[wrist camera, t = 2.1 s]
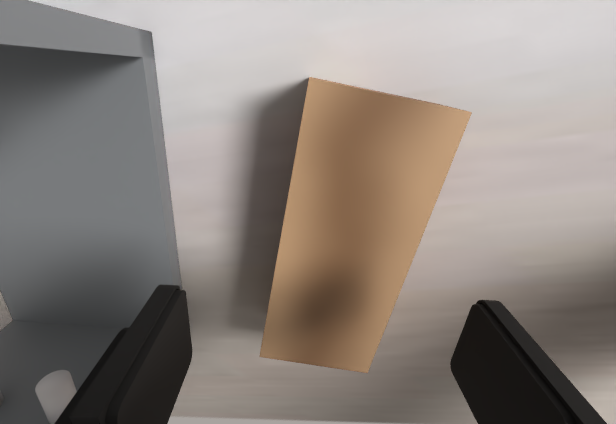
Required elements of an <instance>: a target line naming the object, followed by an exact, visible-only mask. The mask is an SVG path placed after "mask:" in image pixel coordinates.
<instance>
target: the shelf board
mask: <svg viewBox="0 0 616 424" xmlns="http://www.w3.org/2000/svg"><path fill="white" fill-rule="evenodd" d="M471 113H472V112H468V111H464V110H460V109H456V108H452V107H448V106H444V105H440V104H435V103H431V102H426V101H421V100H416V99H412V98H407V97H402V96H397V95H393V94H388V93H383V92H379V91H374V90H369V89H364V88H360V87H355V86H350V85H345V84H341V83H336V82H331V81H327V80H322V79H317V78H312V77H310V78H309V81H308V87H307V92H306V98H305V104H304V109H303V115H302V120H301V126H300V132H299V137H298V143H297V148H296V154H295V160H294V165H293V171H292V177H291V182H290V188H289V193H288V199H287V205H286V210H285V216H284V222H283V227H282V233H281V238H280V244H279V250H278V255H277V261H276V267H275V272H274V278H273V283H272V289H271V295H270V300H269V306H268V312H267V317H266V323H265V328H264V334H263V340H262V345H261V351H260V357H264V358H271V359H277V360H284V361H291V362H297V363H304V364H311V365H317V366H324V367H330V368H337V369H344V370H350V371H357V372H364V373H368V370H369V368H370V365H371V363H372V360H373V358H374V355H375V353H376V350H377V348H378V345H379V343H380V340H381V338H382V335H383V333H384V330H385V328H386V325H387V323H388V320H389V318H390V315H391V313H392V310H393V308H394V305H395V303H396V300H397V298H398V295H399V293H400V290H401V288H402V285H403V283H404V280H405V278H406V275H407V273H408V270H409V268H410V265H411V263H412V260H413V258H414V255H415V253H416V251H417V248H418V246H419V243H420V241H421V238H422V236H423V233H424V231H425V228H426V226H427V223H428V221H429V218H430V216H431V213H432V211H433V208H434V206H435V203H436V201H437V198H438V196H439V193H440V191H441V188H442V186H443V183H444V181H445V178H446V176H447V173H448V171H449V168H450V166H451V163H452V161H453V158H454V156H455V153H456V151H457V148H458V146H459V143H460V141H461V138H462V136H463V133H464V131H465V128H466V126H467V123H468V121H469V118H470V116H471Z"/></svg>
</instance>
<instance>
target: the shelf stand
mask: <svg viewBox="0 0 616 424" xmlns="http://www.w3.org/2000/svg"><path fill="white" fill-rule="evenodd" d="M160 284H161V285H178V286H179V287H180V290H182V286H181V278H180V269H179V261H178V252H177V244H176V236H175V227H174V219H173V210H172V202H171V193H170V185H169V176H168V168H167V160H166V151H165V143H164V134H163V126H162V117H161V109H160V100H159V92H158V83H157V75H156V67H155V58H154V50H153V41H152V33H151V32H149V31H146V30H142V29H138V28H134V27H130V26H126V25H122V24H118V23H114V22H110V21H107V20H103V19H99V18H95V17H91V16H87V15H83V14H79V13H75V12H71V11H68V10H64V9H60V8H56V7H52V6H48V5H44V4H40V3H36V2H32V1H29V0H0V291H1V293H2V296H3V298H4V300H5V303H6V305H7V307H8V309H9V312H10V314H11V316H12V319H13V321H12V322H11V323H9V324H8V325H7V326H6V327H4V328H3V329H2V330H1V331H0V424H55V422H56V421H57V419H58V418H59V416H60V415H61V414H62V412H63V411H64V409H65V408H66V406H67V405H68V404H69V402H70V401H71V399H72V398H73V397H74V395H75V394H76V392H77V391H78V389H79V388H80V387H81V385H82V384H83V382H84V381H85V379H86V378H87V377H88V375H89V374H90V372H91V371H92V370H93V368H94V367H95V365H96V364H97V362H98V361H99V360H100V358H101V357H102V355H103V354H104V352H105V351H106V350H107V348H108V347H109V345H110V344H111V343H112V341H113V340H114V338H115V337H116V335H117V334H118V333H119V332H120V331H121V330H122V329H123V328H129V327H130V326H131V324H132V323H133V321H134V320H135V319H136V317H137V316H138V314H139V313H140V311H141V310H142V308H143V307H144V305H145V304H146V302H147V301H148V299H149V298H150V296H151V295H152V293H153V292H154V290H155V289H156V287H157V286H158V285H160Z"/></svg>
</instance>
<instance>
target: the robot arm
mask: <svg viewBox="0 0 616 424" xmlns="http://www.w3.org/2000/svg"><path fill="white" fill-rule="evenodd" d="M191 358H192V344H191V335H190V326H189V317H188V308H187V299H186V292H185V291H184V290H180V287H179V286H178V285H161V284H160V285H158V286H157V287H156V289H155V290H154V292H153V293H152V295H151V296H150V298H149V299H148V301H147V302H146V304H145V305H144V307H143V308H142V310H141V311H140V313H139V314H138V316H137V317H136V319H135V320H134V321H133V323H132V324H131V326H130V327H129V328H123V329H122V330H121V331H120V332H119V333H118V334H117V335H116V337H115V338H114V340H113V341H112V343H111V344H110V345H109V347H108V348H107V350H106V351H105V352H104V354H103V355H102V357H101V358H100V360H99V361H98V362H97V364H96V365H95V367H94V368H93V370H92V371H91V372H90V374H89V375H88V377H87V378H86V379H85V381H84V382H83V384H82V385H81V387H80V388H79V389H78V391H77V392H76V394H75V395H74V397H73V398H72V399H71V401H70V402H69V404H68V405H67V406H66V408H65V409H64V411H63V412H62V414H61V415H60V416H59V418H58V419H57V421H56V422H55V424H167V423H168V420H169V418H170V415H171V412H172V410H173V407H174V405H175V402H176V399H177V397H178V394H179V391H180V389H181V386H182V384H183V381H184V378H185V376H186V373H187V370H188V368H189V365H190V362H191ZM450 365H451V371H452V373H453V375H454V377H455V379H456V381H457V383H458V385H459V387H460V389H461V391H462V393H463V395H464V397H465V399H466V401H467V403H468V405H469V407H470V409H471V411H472V413H473V415H474V417H475V419H476V421H477V423H478V424H607V423H606V422H605V421H604V420H603V419H602V417H601V416H600V415H599V414H598V413H597V412H596V411H595V409H594V408H593V407H592V406H591V405H590V404H589V403H588V401H587V400H586V399H585V398H584V397H583V396H582V395H581V393H580V392H579V391H578V390H577V389H576V388H575V387H574V385H573V384H572V383H571V382H570V381H569V380H568V379H567V377H566V376H565V375H564V374H563V373H562V372H561V371H560V369H559V368H558V367H557V366H556V365H555V364H554V363H553V361H552V360H551V359H550V358H549V357H548V356H547V355H546V353H545V352H544V351H543V350H542V349H541V348H540V347H539V345H538V344H537V343H536V342H535V341H534V340H533V339H532V337H531V336H530V335H529V334H528V333H527V332H526V331H525V329H524V328H523V327H522V326H521V325H520V324H519V323H518V321H517V320H516V319H515V318H514V317H513V316H512V314H511V313H510V312H509V311H508V310H507V309H506V308H505V306H504V305H503V304H502V303H501V302H499V301H491V300H479V301H478V302H477V303H476V304H474V305H472V307H471V310H470V312H469V315H468V317H467V320H466V323H465V325H464V328H463V330H462V333H461V335H460V338H459V341H458V343H457V346H456V348H455V351H454V354H453V356H452V359H451V364H450Z"/></svg>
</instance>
